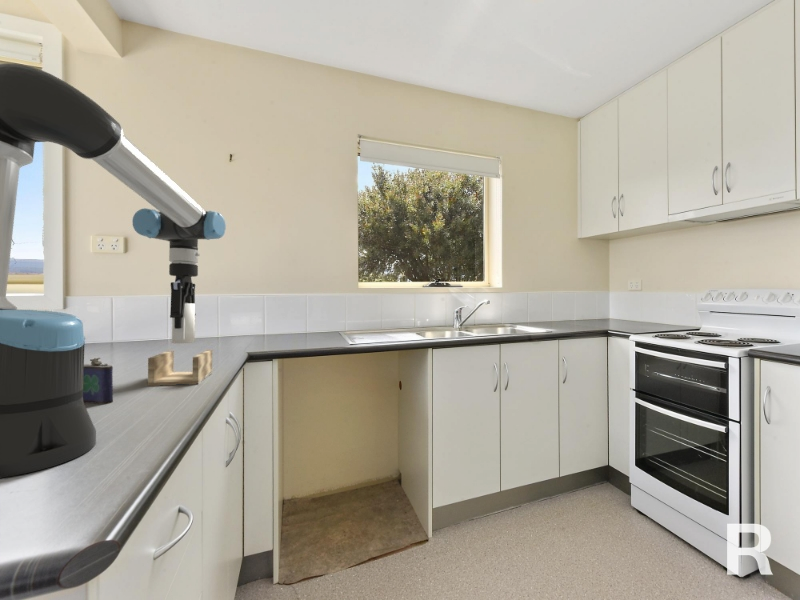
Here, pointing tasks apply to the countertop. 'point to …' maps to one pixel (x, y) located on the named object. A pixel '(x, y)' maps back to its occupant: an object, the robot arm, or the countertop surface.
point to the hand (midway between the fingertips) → (183, 337)
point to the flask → (97, 382)
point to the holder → (164, 375)
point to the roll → (187, 324)
